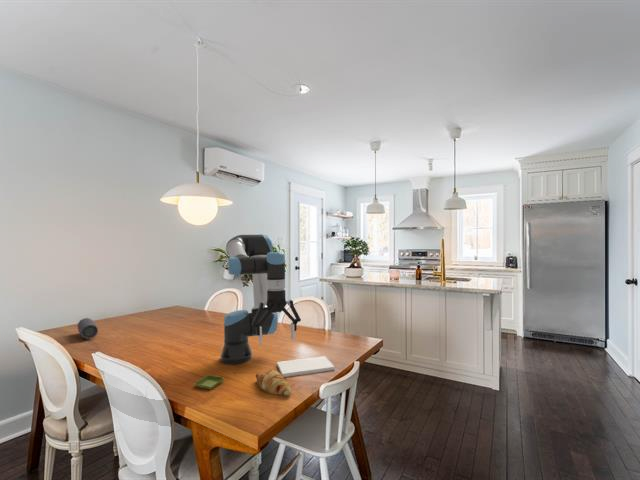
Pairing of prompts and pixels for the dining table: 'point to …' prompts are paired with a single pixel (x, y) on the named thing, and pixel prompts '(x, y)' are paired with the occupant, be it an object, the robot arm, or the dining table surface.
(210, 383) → the saucer
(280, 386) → the croissant
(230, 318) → the robot arm
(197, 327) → the dining table surface
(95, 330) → the bluetooth speaker
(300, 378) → the dining table surface
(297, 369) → the platter
